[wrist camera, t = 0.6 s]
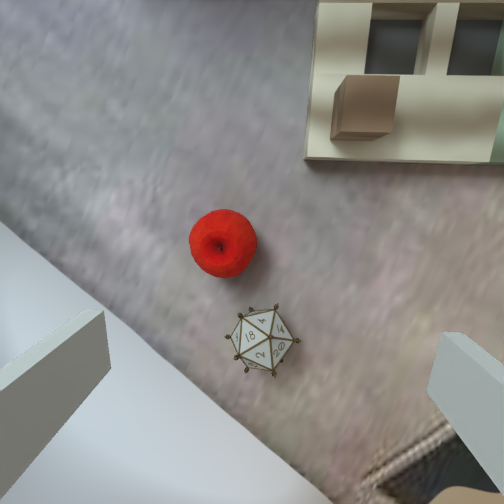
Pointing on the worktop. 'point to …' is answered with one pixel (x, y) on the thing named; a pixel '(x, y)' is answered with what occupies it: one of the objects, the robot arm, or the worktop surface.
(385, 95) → the block
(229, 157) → the worktop surface
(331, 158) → the shape sorter board
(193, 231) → the apple
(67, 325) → the robot arm
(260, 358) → the game die
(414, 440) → the worktop surface
